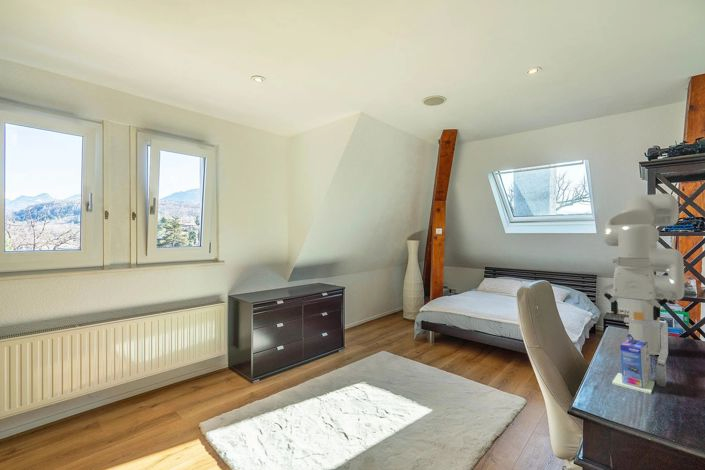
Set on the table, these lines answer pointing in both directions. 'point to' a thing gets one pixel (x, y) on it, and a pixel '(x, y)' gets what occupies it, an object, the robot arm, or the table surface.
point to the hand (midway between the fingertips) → (634, 316)
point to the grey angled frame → (640, 319)
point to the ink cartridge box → (635, 362)
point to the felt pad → (618, 382)
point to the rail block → (661, 374)
